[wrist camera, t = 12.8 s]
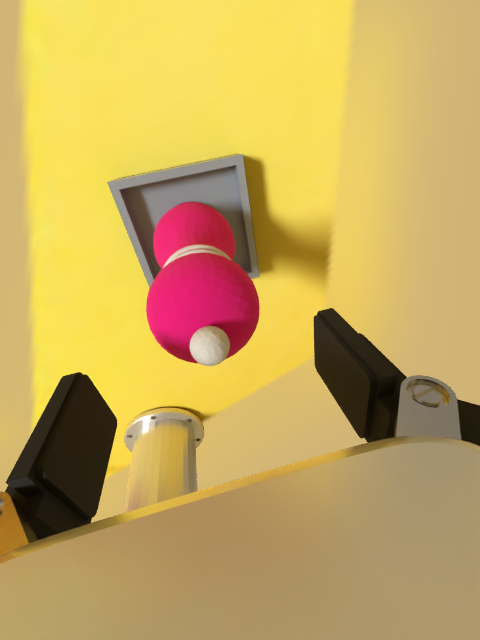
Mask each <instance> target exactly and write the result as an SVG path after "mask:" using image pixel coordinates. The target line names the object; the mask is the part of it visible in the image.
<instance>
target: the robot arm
mask: <svg viewBox="0 0 480 640" xmlns="http://www.w3.org/2000/svg"><path fill="white" fill-rule="evenodd" d="M314 353H315V367H316V370H317V372H318V373H319V375H320V376H321V378H322V380H323V381H324V383H325V384H326V385H327V387H328V389H329V391H330V392H331V394H332V395H333V397H334V398H335V400H336V402H337V403H338V405H339V406H340V407H341V409H342V411H343V413H344V414H345V416H346V417H347V419H348V420H349V422H350V423H351V425H352V427H353V428H354V430H355V431H356V433H357V434H358V436H359V437H360V438H365V439H366V441H367V442H368V443H366V444H361V445H358V446H354V447H350V448H347V449H343V450H339V451H335V452H332V453H328V454H324V455H321V456H317V457H314V458H310V459H307V460H304V461H300V462H296V463H293V464H290V465H286V466H283V467H279V468H276V469H272V470H269V471H265V472H262V473H259V474H255V475H251V476H248V477H245V478H242V479H238V480H235V481H231V482H228V483H224V484H221V485H217V486H214V487H211V488H207V489H204V490H200V491H197V471H196V450H195V448H197V446H199V444H200V443H201V441H202V439H203V437H204V428H203V424H202V421H201V420H200V419H199V418H198V417H197V416H196V415H195V414H193V413H191V412H189V411H186V410H183V409H178V408H158V409H154V410H150V411H147V412H145V413H142V414H141V415H139V416H137V417H136V418H135V419H133V420H132V421H131V422H130V423H129V425H128V426H127V428H126V431H125V436H124V442H125V445H126V447H127V448H128V449H129V450H130V451H131V452H132V458H131V464H130V470H129V477H128V483H127V489H126V495H125V502H124V508H123V514H120V515H117V516H113V517H110V518H106V519H103V520H100V521H97V522H93V523H91V519H92V517H94V516H95V515H96V512H97V509H98V505H99V501H100V496H101V492H102V488H103V483H104V479H105V475H106V471H107V466H108V462H109V458H110V454H111V449H112V445H113V441H114V436H115V432H116V428H117V419H116V417H115V415H114V414H113V412H112V411H111V409H110V408H109V406H108V405H107V403H106V402H105V400H104V399H103V397H102V396H101V394H100V393H99V391H98V390H97V389H96V387H95V386H94V384H93V383H92V381H91V380H90V378H89V377H88V376H87V375H83V374H82V373H80V372H78V373H74V374H70V375H66V376H64V377H62V378H61V380H60V382H59V384H58V386H57V387H56V389H55V391H54V393H53V395H52V397H51V399H50V401H49V402H48V404H47V406H46V408H45V410H44V412H43V414H42V416H41V417H40V419H39V421H38V423H37V425H36V427H35V429H34V431H33V432H32V434H31V436H30V438H29V440H28V442H27V444H26V445H25V448H24V449H23V451H22V453H21V455H20V457H19V459H18V461H17V462H16V464H15V466H14V468H13V470H12V472H11V474H10V476H9V477H8V479H7V481H6V483H7V484H8V487H7V489H6V491H5V492H0V640H480V406H479V405H476V404H471V403H468V402H465V401H461V400H458V399H457V398H456V395H455V393H454V392H453V390H452V389H451V388H450V387H449V386H448V385H446V384H445V383H444V382H442V381H439V380H438V379H435V378H432V377H428V376H421V375H417V376H411V377H408V378H407V377H406V376H405V375H404V374H403V373H402V372H401V371H400V370H399V369H398V368H397V367H396V366H395V365H393V363H391V362H390V361H389V360H388V359H387V358H386V357H385V356H384V355H383V354H382V353H381V352H380V351H379V350H378V349H377V348H376V347H375V346H374V345H373V344H372V343H371V342H370V341H369V340H368V339H367V338H366V337H364V336H363V335H362V334H360V333H357V332H356V331H355V330H354V329H353V328H352V327H351V326H350V325H349V324H348V323H347V322H346V321H345V320H344V319H343V318H342V317H341V316H340V315H339V314H338V313H337V312H336V311H335V310H334V309H332V308H330V309H326V310H322V311H319V312H318V313H317V315H316V316H314Z"/></svg>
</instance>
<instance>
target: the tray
mask: <svg viewBox="0 0 480 640" xmlns="http://www.w3.org/2000/svg"><path fill="white" fill-rule="evenodd" d="M107 183H108V185H109V188H110V190H111V193H112V195H113V198H114V200H115V203H116V205H117V208H118V210H119V213H120V215H121V218H122V220H123V223H124V225H125V228H126V230H127V233H128V235H129V238H130V240H131V242H132V245H133V247H134V250H135V252H136V255H137V257H138V260H139V262H140V265H141V267H142V270H143V272H144V275H145V277H146V280H147V282H148V285H149V287H151V285H152V283H153V281H154V280H155V278H156V276H157V275H158V273H159V272H160V271H161V270H162V269H161V268H160V266H159V264H158V262H157V260H156V257H155V254H154V248H153V238H154V232H155V229H156V226H157V224H158V222H159V220H160V219H161V218H162V216H163V215H164V214H165V213H166V212H168V211H169V210H170V209H172V208H173V207H175V206H177V205H178V204H181V203H184V202H191V201H192V202H199V203H202V204H205V205H207V206H210V207H212V208H213V209H215V210H217V211H218V212H219V213H220V214H221V215H223V217H224V218H225V219H226V220H227V222H228V223H229V225H230V227H231V229H232V232H233V235H234V239H235V255H234V259H233V262H235V263H237V264H238V265H239V266H240V267H241V268H242V269H243V270H244V271H245V272H246V273H247V274H248V276H249V277H250V279H252V278H256V277H259V269H258V262H257V255H256V248H255V240H254V233H253V226H252V218H251V211H250V204H249V197H248V189H247V182H246V175H245V167H244V160H243V154H234V155H229V156H225V157H220V158H215V159H210V160H205V161H200V162H196V163H191V164H186V165H181V166H176V167H171V168H166V169H162V170H157V171H152V172H147V173H142V174H137V175H133V176H128V177H123V178H118V179H113V180H111V181H109V182H107Z"/></svg>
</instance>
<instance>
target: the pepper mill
mask: <svg viewBox="0 0 480 640" xmlns="http://www.w3.org/2000/svg"><path fill="white" fill-rule="evenodd" d="M153 248H154V254H155V257H156V260H157V262H158V264H159V266H160V268H161V269H162V270H161V271H160V272H159V273H158V275H157V276H156V278H155V280H154V281H153V283H152V285H151V287H150V289H149V293H148V298H147V307H146V312H147V319H148V323H149V326H150V330H151V331H152V333H153V335H154V337H155V339H156V340H157V342H158V343H159V344H160V345H161V347H163V348H164V349H165V350H166V351H167V352H169V353H170V354H172V355H174V356H175V357H177V358H179V359H182V360H185V361H188V362H193V363H200V364H202V365H205V366H214V365H217V364H219V363H221V362H222V361H223V360H224V359H227V358H229V357H230V356H232V355H234V354H236V353H237V352H238V351H239V350H240V349H241V348H243V347H244V346H245V345H246V343H247V342H248V341H249V339H250V338H251V336H252V335H253V333H254V331H255V329H256V326H257V323H258V319H259V298H258V295H257V291H256V288H255V286H254V284H253V282H252V280H251V279H250V277H249V276H248V274H247V273H246V272H245V271H244V270H243V269H242V268H241V267H240V266H239V265H238V264H237V263H235V262H233V259H234V255H235V239H234V235H233V232H232V229H231V227H230V225H229V223H228V222H227V220H226V219H225V218H224V217H223V215H221V214H220V213H219V212H218V211H217V210H215V209H213V208H212V207H210V206H207V205H205V204H202V203H199V202H192V201H191V202H184V203H181V204H178V205H177V206H175V207H173V208H172V209H170V210H169V211H168V212H166V213H165V214H164V215H163V216H162V218H161V219H160V220H159V222H158V224H157V226H156V229H155V232H154V238H153Z"/></svg>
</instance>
